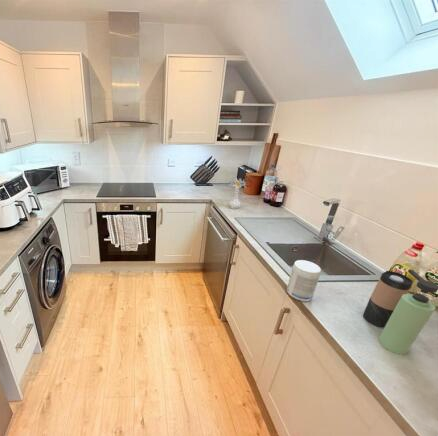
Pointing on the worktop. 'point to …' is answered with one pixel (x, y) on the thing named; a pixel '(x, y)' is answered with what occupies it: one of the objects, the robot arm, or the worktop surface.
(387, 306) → the travel mug
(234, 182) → the flower vase
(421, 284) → the pump head
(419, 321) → the soap bottle
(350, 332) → the worktop surface
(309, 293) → the supplement tub
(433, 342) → the worktop surface
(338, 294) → the worktop surface
